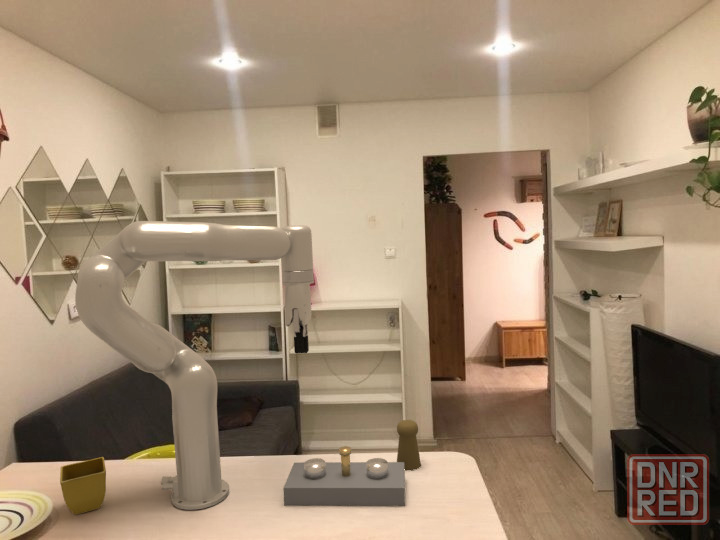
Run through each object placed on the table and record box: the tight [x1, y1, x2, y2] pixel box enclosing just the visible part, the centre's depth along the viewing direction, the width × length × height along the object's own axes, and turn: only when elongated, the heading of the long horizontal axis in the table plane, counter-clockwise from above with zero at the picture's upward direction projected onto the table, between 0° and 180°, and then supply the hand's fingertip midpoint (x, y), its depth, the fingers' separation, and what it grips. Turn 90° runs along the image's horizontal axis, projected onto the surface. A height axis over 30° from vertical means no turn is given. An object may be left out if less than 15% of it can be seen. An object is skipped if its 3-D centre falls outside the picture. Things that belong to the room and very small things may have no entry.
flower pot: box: [59, 456, 107, 516], centre depth 120 cm, size 9×9×9 cm
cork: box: [396, 419, 422, 471], centre depth 134 cm, size 6×6×11 cm
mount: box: [283, 461, 406, 507], centre depth 123 cm, size 26×12×4 cm, turn 86°
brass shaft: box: [338, 445, 352, 477], centre depth 122 cm, size 3×3×6 cm
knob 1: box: [304, 457, 326, 479], centre depth 123 cm, size 5×5×6 cm
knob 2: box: [366, 457, 389, 479], centre depth 122 cm, size 5×5×6 cm
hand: (301, 352), depth 133 cm, fingers closed
